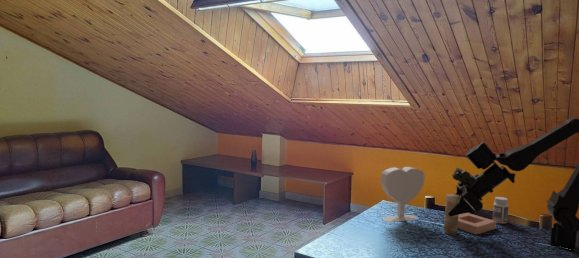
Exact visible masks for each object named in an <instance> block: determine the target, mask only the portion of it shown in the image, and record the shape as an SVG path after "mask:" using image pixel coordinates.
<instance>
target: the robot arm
mask: <svg viewBox="0 0 579 258" xmlns="http://www.w3.org/2000/svg"><path fill="white" fill-rule="evenodd" d="M578 133H579V118H575V117H570V118H568V119H566V120H565V121H564V122H563V123H560V124H559V125H557V126H556V127H554V128H552V129H551V130H549V131H548V132H546V133H544V134H542V135H541V136H539V137H537V138H536V139H534V140H532V141H530V142H529V143H528V142H527V143H526V144H523V145H520V146H517V147H514V148H512V149H509V150H507V151H505V152H503V153H498V152H497V153H494V152H493V151H492V150H491V149H490V148H489V146H488V145H487V144H486V143H485V142H484V141H482V142H480V143H478V144H477V145H476V146H473V147H472V148H470V149H469V150H468V151H467V152H466V153H465V157H466V158H467V159H468V160H469V161H470V163H472V165H474V167H476V169H478V170H480V169H482V170H484V171H482V172H481V173H476V174H475V175H472V174H471V173H470V172H469V171H467V170H466V169H465V170H463V169H462V168H458V167H456V168H455V170H454V171H453V174H452V178H453V180H455V181H458V182H457V185H455V186H456V189H455V190H456V192H455V193H454V194H455V195H458V196H460V201H459V202H458V203H457V204H456V205H455V206H454V207H453V208H452V209H451V211H450V212H449V213H448V215H449V216H455V215H459V214H464V213H470V212H471V213H475V212H477V213H478V212H479V211H481V210H482V209H483V208H484V207H483V206H484V204H483V202H482V201H483V197H484V196H486V195H487V194H489V193H490V194H492V193H493V192H494V189H496V188H497V187H498V186H499V185H501V184H502V183H504V182H505V181H506V180H507V179H508V180H509V181H510V182H511V183H512V184H514V183H516V181H515V180H516V179H515V178H516V174H515V172H521V171H524V170H525V169H526V168H528V167H529V165H531V164H532V163H533V162H534V161H535V160H536V159H537V158H538V157H539V156H540V155H542V154H543V153H545V152H546V151H549V150H550V149H551V148H553V147H555V146H556V145H558V144H560V143H562V142H563V141H565V140H568V139H569V138H570V137H572V136H574V135H575V134H578ZM495 161H497V162H498V163H499V164H500V165H501V166H499V165H498V164H497V163H496V162H495ZM505 166H506V167H505ZM507 168H508V169H510V170H512V171H514V172H511V171H509V170H508V169H507ZM546 203H547V205H546V210H547V211H548V213H549V215H550V216H551V217H553V220H554V221H555V222H554V223H553V226H552V227H551V229H550V241H549V242H548V244H549V243H551V244H554V245H557V246H561V247H564V248H568V249H571V250H574V249H577V248H579V218H578V217H577V214H578V211H579V162H578V163H577V165H576V166H575V168H574V170H573V172H572V174H571V175H570V177H569V179H568V180H567V182H566V184H565V186H564V187H563V188H562V189H561V190H559V192H557V191H555V190H553V191H552V192H551V195H550V197H549V199H548V200H546ZM471 213H470V214H471ZM554 245H553V246H554ZM557 246H556V247H557ZM564 248H563V249H564ZM577 250H578V249H577Z"/></svg>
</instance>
